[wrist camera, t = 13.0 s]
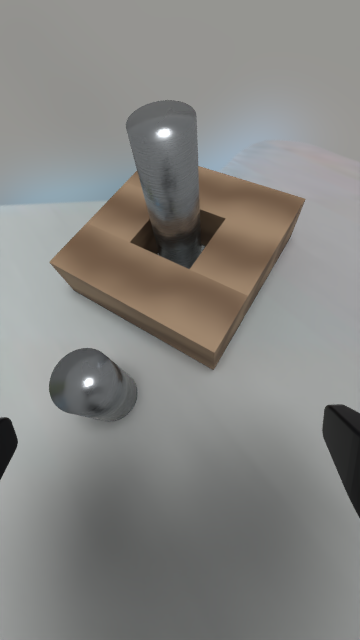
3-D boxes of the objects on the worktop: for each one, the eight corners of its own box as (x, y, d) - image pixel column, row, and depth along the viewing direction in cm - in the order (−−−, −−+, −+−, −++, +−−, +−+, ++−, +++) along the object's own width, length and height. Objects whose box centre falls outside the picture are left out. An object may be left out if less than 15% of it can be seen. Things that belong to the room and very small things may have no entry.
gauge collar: (213, 370, 21) (214, 352, 17) (73, 290, 26) (49, 262, 22) (290, 236, 26) (305, 198, 22) (161, 190, 31) (154, 152, 27)
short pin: (117, 431, 20) (83, 427, 15) (79, 403, 21) (36, 390, 16) (146, 386, 21) (125, 367, 16) (109, 362, 23) (78, 337, 17)
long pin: (171, 286, 25) (139, 151, 14) (156, 257, 27) (117, 115, 15) (208, 270, 26) (208, 125, 14) (191, 242, 27) (178, 92, 16)
